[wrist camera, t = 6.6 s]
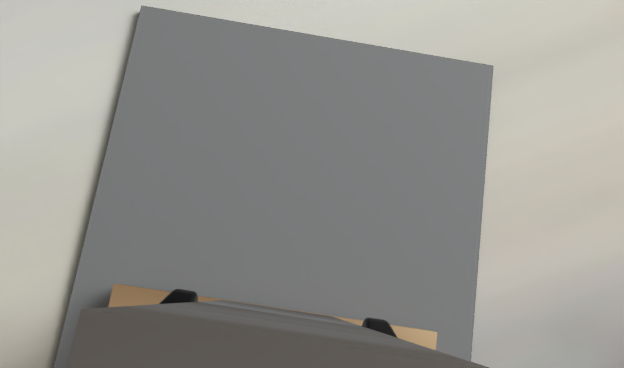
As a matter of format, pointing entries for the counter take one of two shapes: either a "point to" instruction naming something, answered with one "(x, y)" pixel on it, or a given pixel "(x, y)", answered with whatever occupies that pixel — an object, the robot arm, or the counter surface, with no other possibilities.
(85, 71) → the counter surface
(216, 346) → the wooden base with post
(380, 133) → the lane mat
